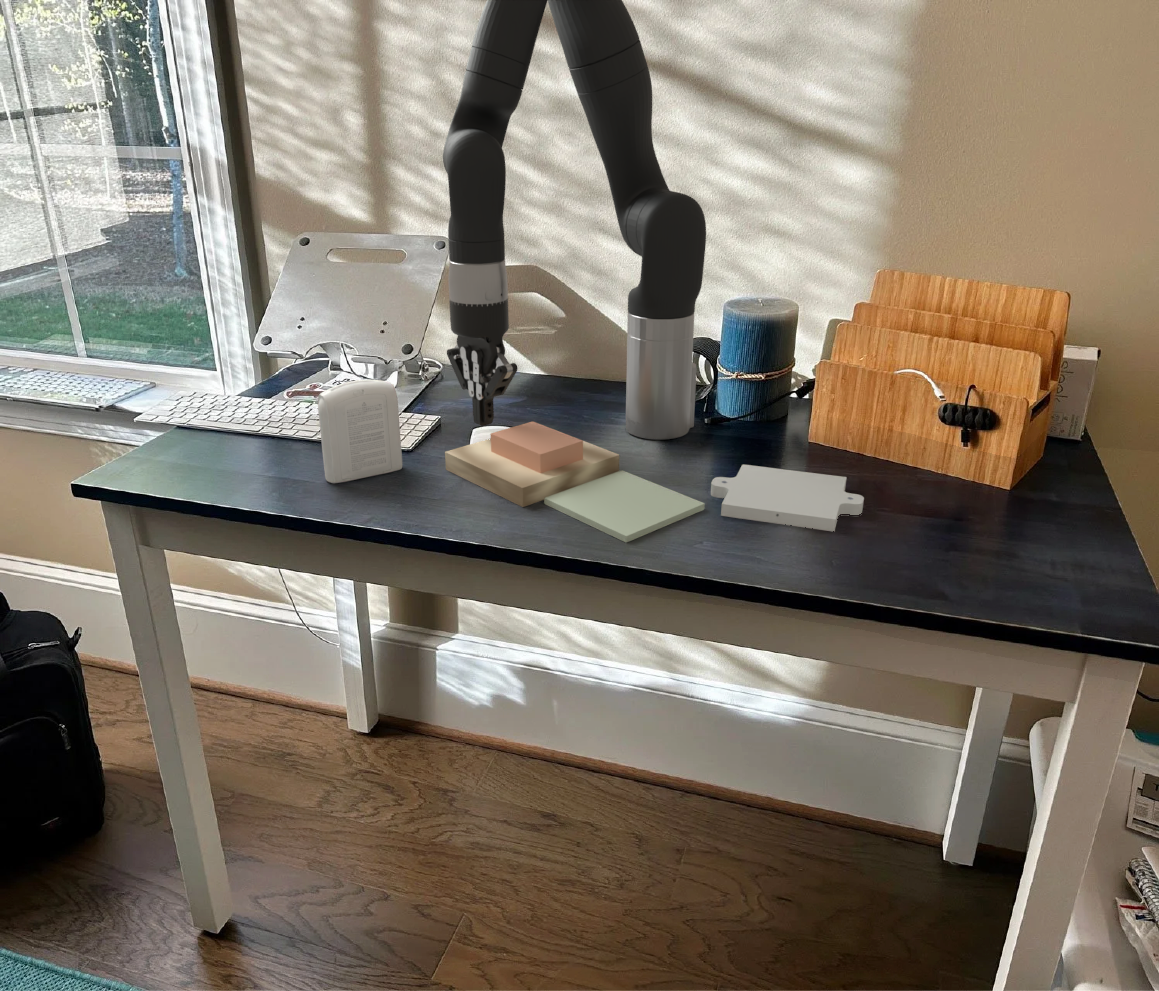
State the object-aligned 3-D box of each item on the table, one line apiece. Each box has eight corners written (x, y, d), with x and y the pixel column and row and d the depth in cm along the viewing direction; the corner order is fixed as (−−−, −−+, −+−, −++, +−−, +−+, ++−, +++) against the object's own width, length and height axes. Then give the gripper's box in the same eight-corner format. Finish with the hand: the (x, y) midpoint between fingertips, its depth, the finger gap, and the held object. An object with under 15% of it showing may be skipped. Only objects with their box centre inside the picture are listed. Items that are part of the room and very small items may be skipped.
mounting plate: (699, 515, 112) (700, 501, 112) (722, 475, 124) (723, 461, 123) (857, 538, 107) (859, 522, 106) (865, 494, 118) (867, 479, 117)
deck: (539, 440, 134) (539, 423, 133) (619, 472, 123) (619, 454, 122) (445, 469, 125) (444, 451, 124) (522, 507, 114) (522, 488, 113)
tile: (532, 438, 128) (532, 421, 127) (583, 459, 121) (582, 440, 120) (491, 451, 124) (490, 433, 123) (540, 473, 117) (540, 454, 116)
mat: (621, 475, 122) (621, 470, 122) (704, 509, 113) (704, 503, 113) (544, 503, 115) (544, 497, 114) (626, 542, 105) (626, 536, 105)
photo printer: (395, 460, 128) (387, 371, 123) (408, 470, 124) (401, 379, 119) (320, 476, 123) (309, 384, 118) (332, 487, 119) (321, 393, 114)
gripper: (534, 299, 120) (536, 429, 127) (471, 283, 129) (476, 406, 136) (486, 308, 115) (491, 442, 122) (425, 291, 124) (432, 417, 131)
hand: (483, 423), depth 129 cm, fingers closed
